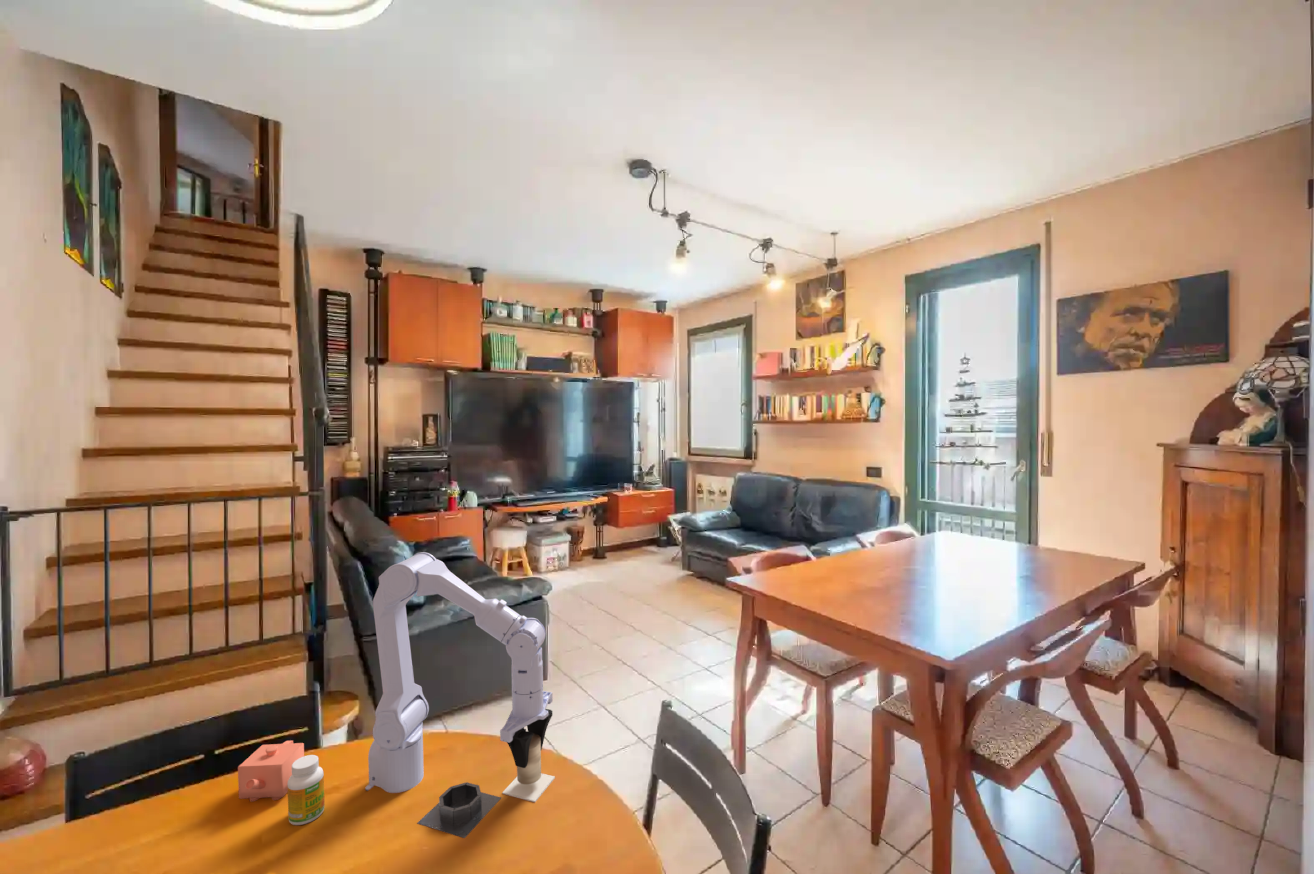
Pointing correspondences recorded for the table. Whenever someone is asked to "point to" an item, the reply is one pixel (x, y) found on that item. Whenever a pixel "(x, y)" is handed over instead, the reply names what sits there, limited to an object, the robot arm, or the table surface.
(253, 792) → the pink cube teapot
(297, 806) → the supplement bottle
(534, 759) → the tan cylinder
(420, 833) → the table surface
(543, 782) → the tile pad
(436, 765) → the table surface
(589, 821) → the table surface
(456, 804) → the housing
